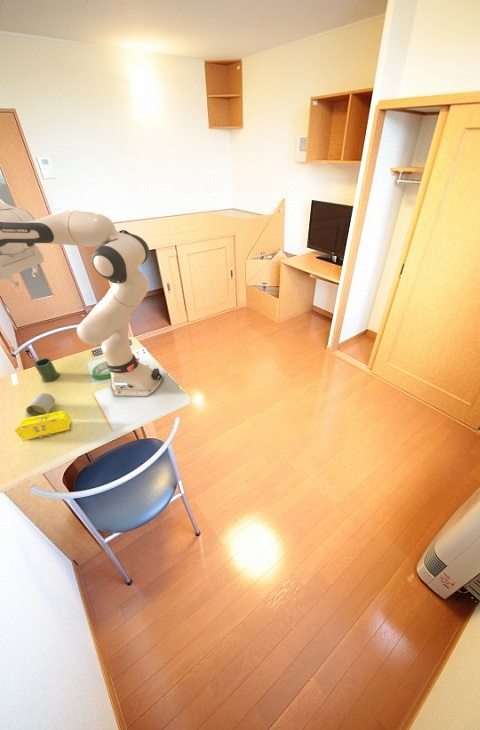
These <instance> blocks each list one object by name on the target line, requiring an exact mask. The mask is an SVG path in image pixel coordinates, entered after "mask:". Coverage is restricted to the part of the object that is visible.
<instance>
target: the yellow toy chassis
mask: <svg viewBox="0 0 480 730" xmlns="http://www.w3.org/2000/svg"><path fill="white" fill-rule="evenodd" d="M71 422H72V418H71V417H70V415H69V413H68V412H67V411H62V410H58V411H54V412H49V413H48V414H44V415H40V416H35V417H32V416H30V417H27V418H23V419H21V421H20V422H19V425H18V426H17V427H15V429H14V432H15V433H16V435H17V436H18V438H20V440H22V441H27V440H30V439H32V440H33V439H36V438H40V439H42V438H44V437H43V436H47V437H51V435H53V434H55V433H62V432H65V431H68V430H70V425H71Z"/></svg>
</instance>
